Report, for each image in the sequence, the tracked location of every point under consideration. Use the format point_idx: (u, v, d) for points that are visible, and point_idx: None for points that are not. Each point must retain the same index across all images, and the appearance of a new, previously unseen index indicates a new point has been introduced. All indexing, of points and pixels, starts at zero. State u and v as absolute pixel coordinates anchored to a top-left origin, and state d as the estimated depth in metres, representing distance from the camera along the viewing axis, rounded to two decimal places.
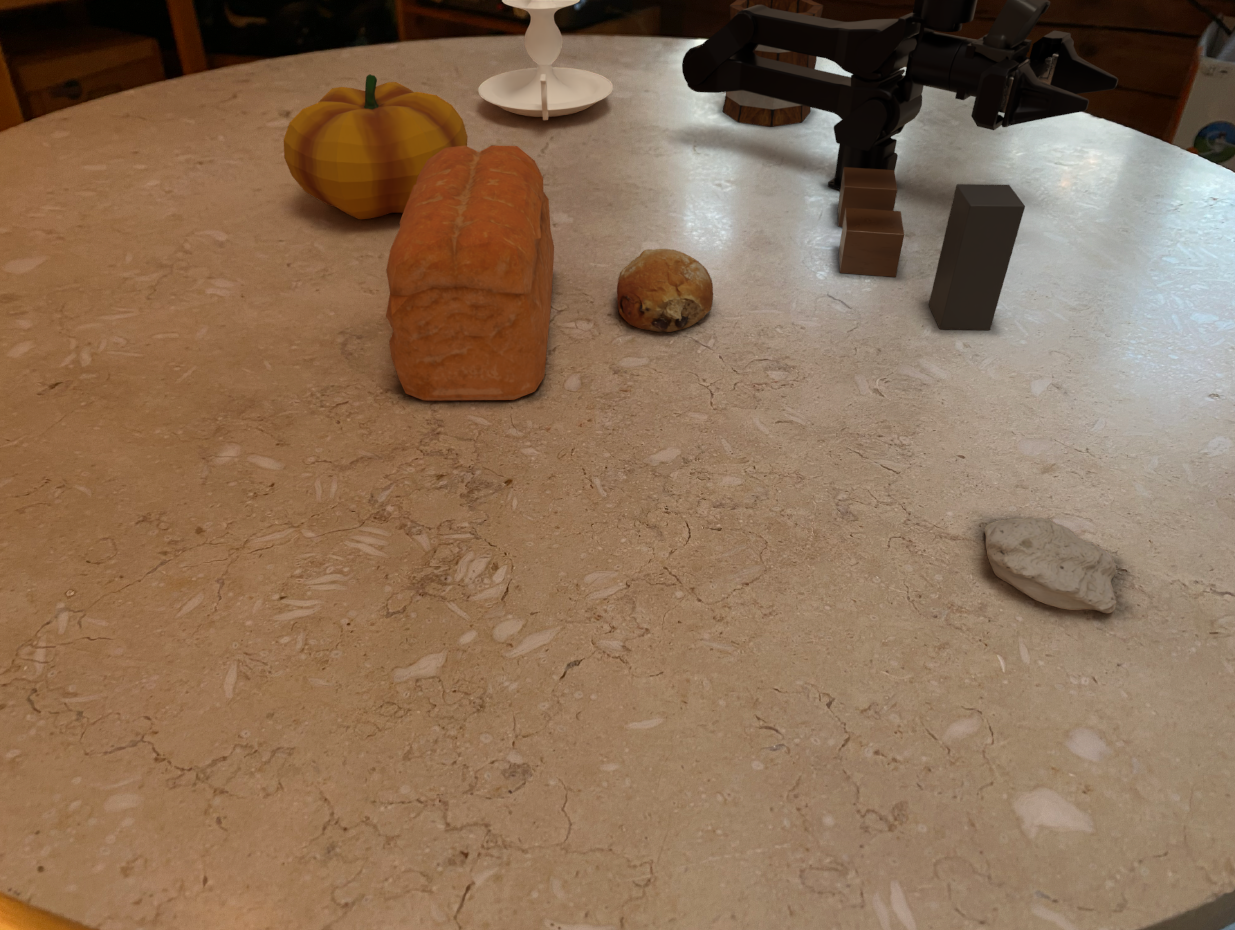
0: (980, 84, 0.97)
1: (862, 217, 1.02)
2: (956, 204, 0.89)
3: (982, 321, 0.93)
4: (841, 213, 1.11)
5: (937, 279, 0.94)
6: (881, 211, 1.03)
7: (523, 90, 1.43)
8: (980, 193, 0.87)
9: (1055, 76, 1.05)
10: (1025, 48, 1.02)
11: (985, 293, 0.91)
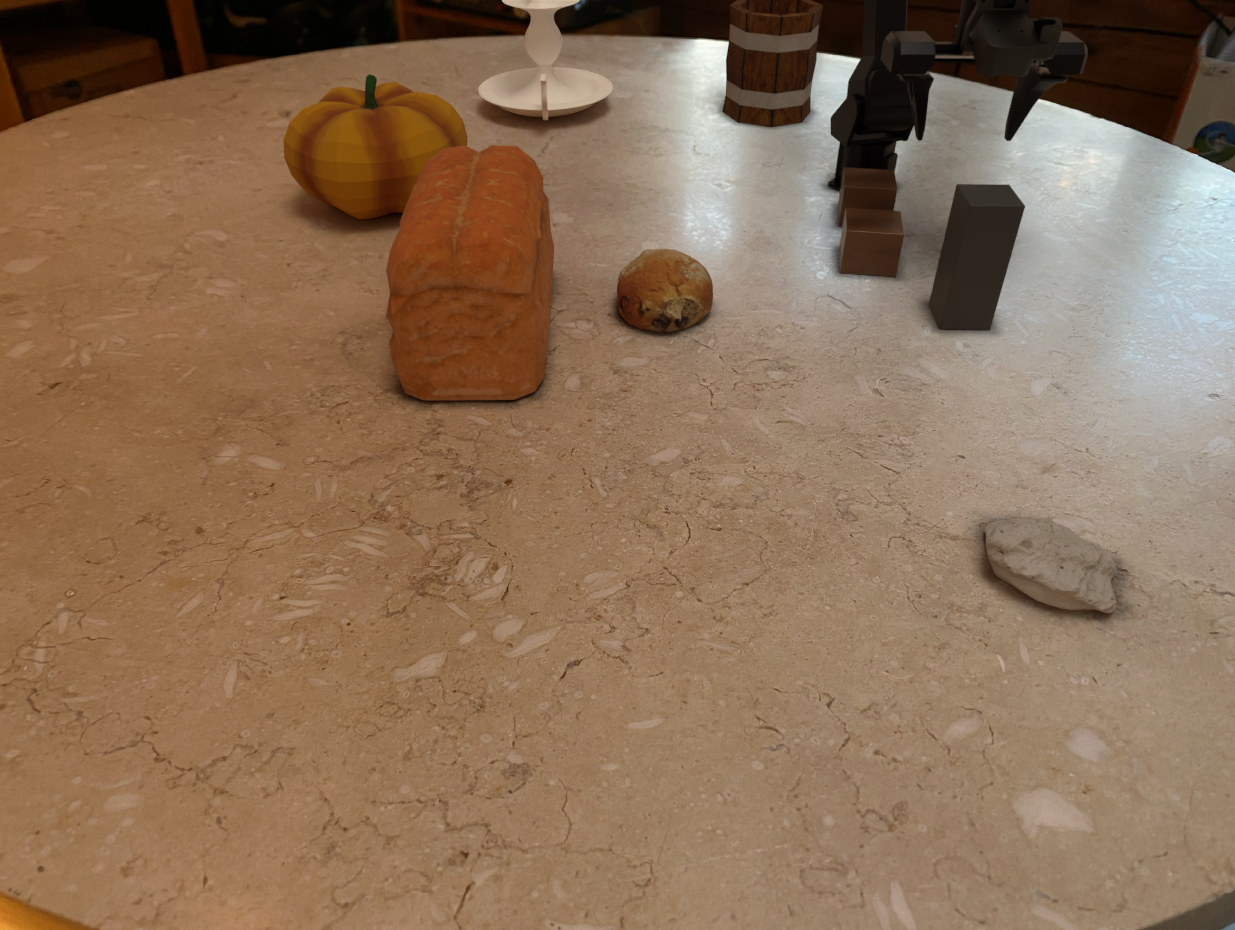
0: (895, 42, 0.92)
1: (862, 217, 1.02)
2: (956, 204, 0.89)
3: (982, 321, 0.93)
4: (841, 213, 1.11)
5: (937, 279, 0.94)
6: (881, 211, 1.03)
7: (523, 90, 1.43)
8: (980, 193, 0.87)
9: None
10: None
11: (985, 293, 0.91)
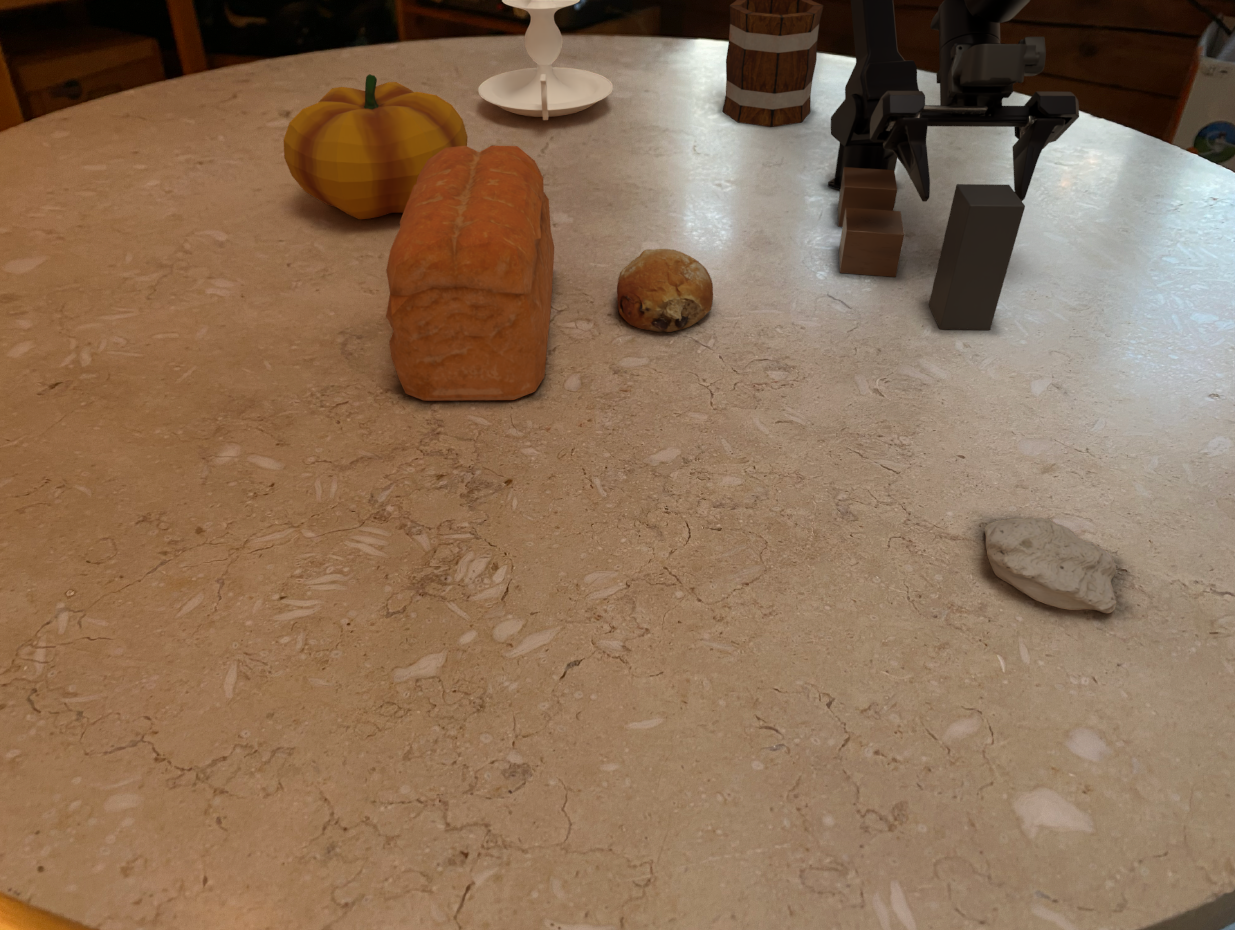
0: None
1: (862, 217, 1.02)
2: (956, 204, 0.89)
3: (982, 321, 0.93)
4: (841, 213, 1.11)
5: (937, 279, 0.94)
6: (881, 211, 1.03)
7: (523, 90, 1.43)
8: (980, 193, 0.87)
9: (1021, 139, 0.93)
10: (995, 95, 0.90)
11: (985, 293, 0.91)
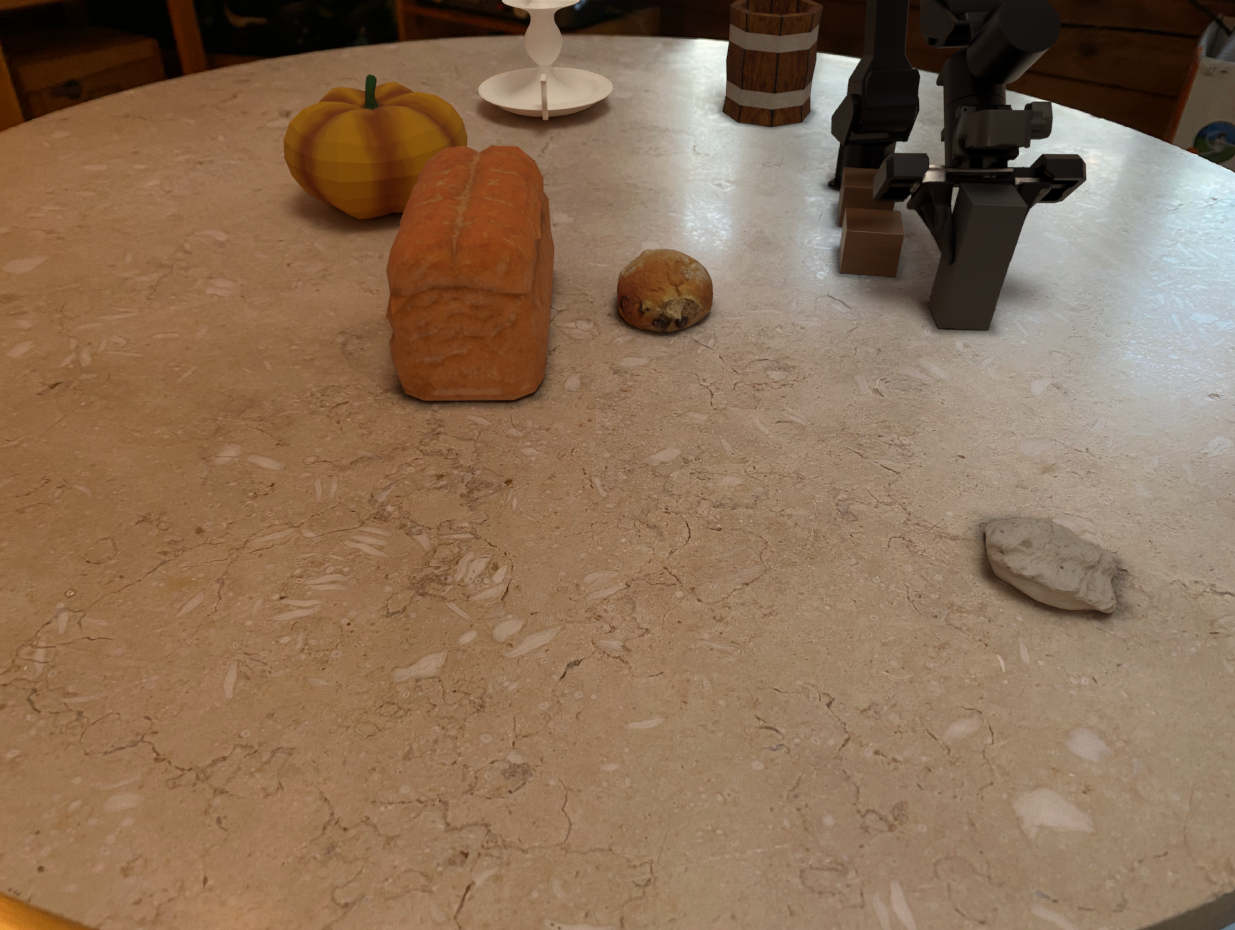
0: None
1: (862, 217, 1.02)
2: (959, 202, 0.89)
3: (981, 321, 0.93)
4: (841, 213, 1.11)
5: (937, 278, 0.94)
6: (881, 211, 1.03)
7: (523, 90, 1.43)
8: (983, 192, 0.87)
9: None
10: (1001, 157, 0.88)
11: (985, 293, 0.91)
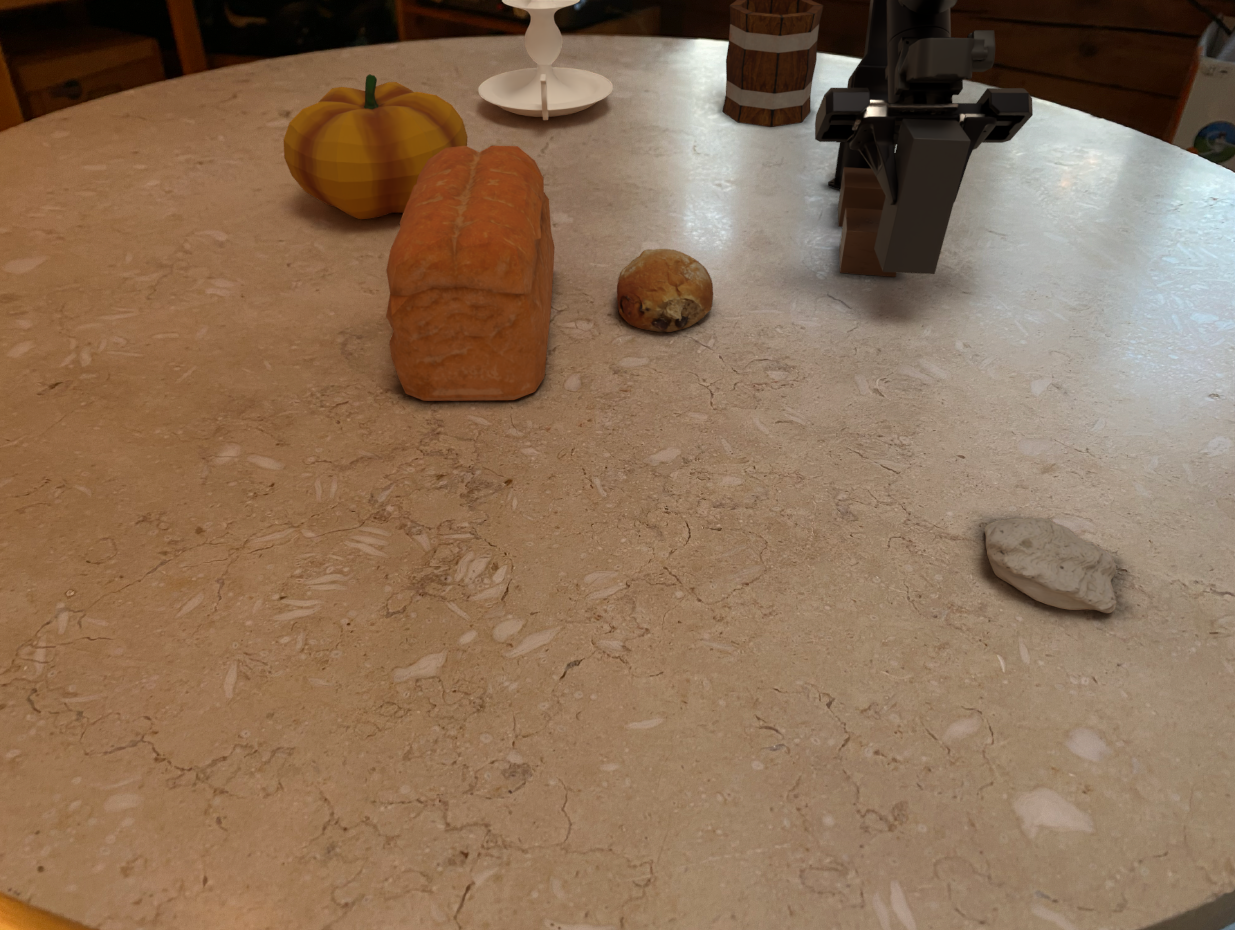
0: None
1: (862, 217, 1.02)
2: (901, 139, 0.86)
3: (926, 265, 0.90)
4: (841, 213, 1.11)
5: (882, 221, 0.91)
6: (881, 211, 1.03)
7: (523, 90, 1.43)
8: (926, 127, 0.84)
9: None
10: (944, 92, 0.85)
11: (929, 234, 0.88)
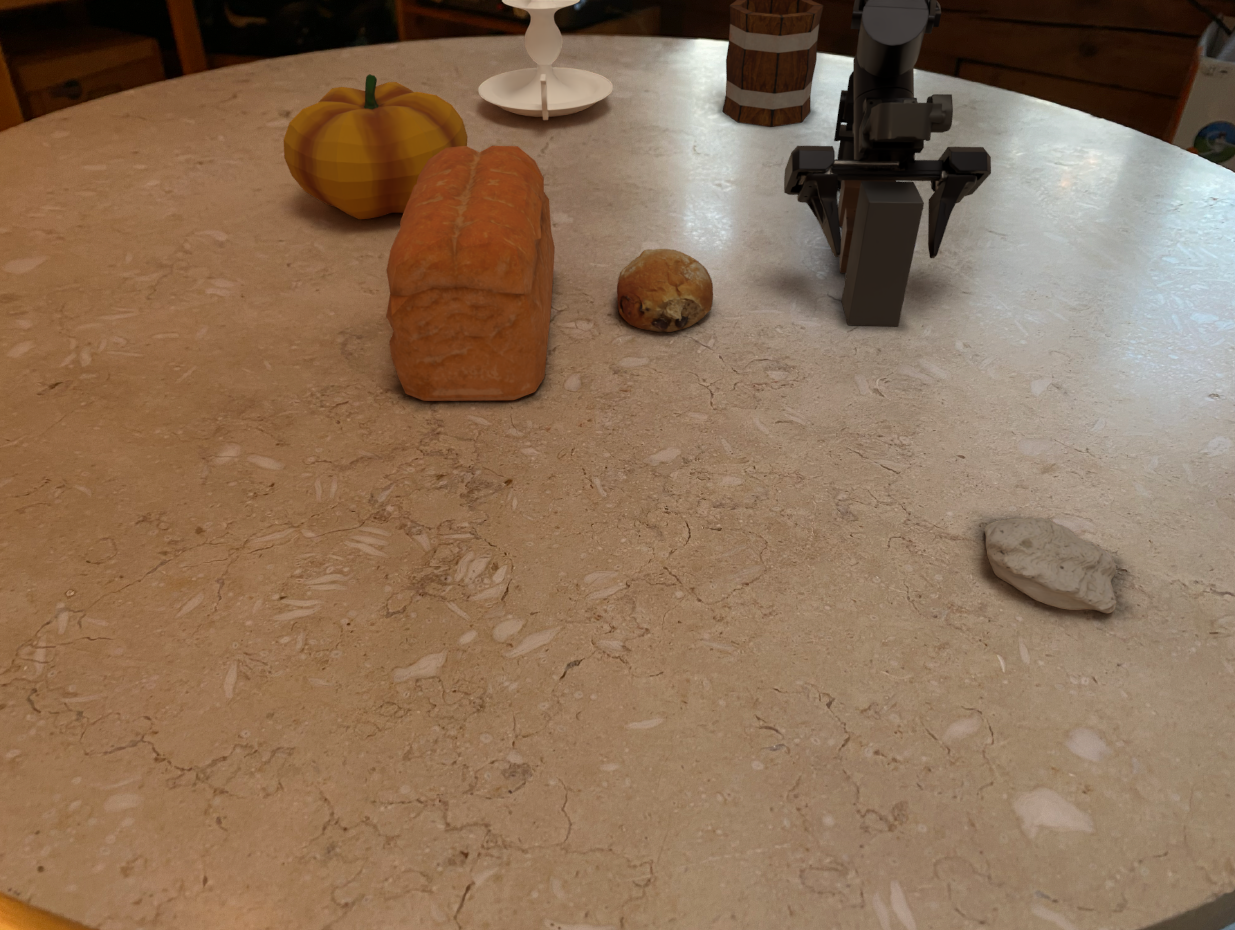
0: None
1: None
2: (860, 201, 0.90)
3: (889, 317, 0.93)
4: (841, 213, 1.11)
5: (847, 276, 0.95)
6: None
7: (523, 90, 1.43)
8: (882, 189, 0.88)
9: (935, 193, 0.92)
10: (906, 150, 0.89)
11: (891, 289, 0.91)
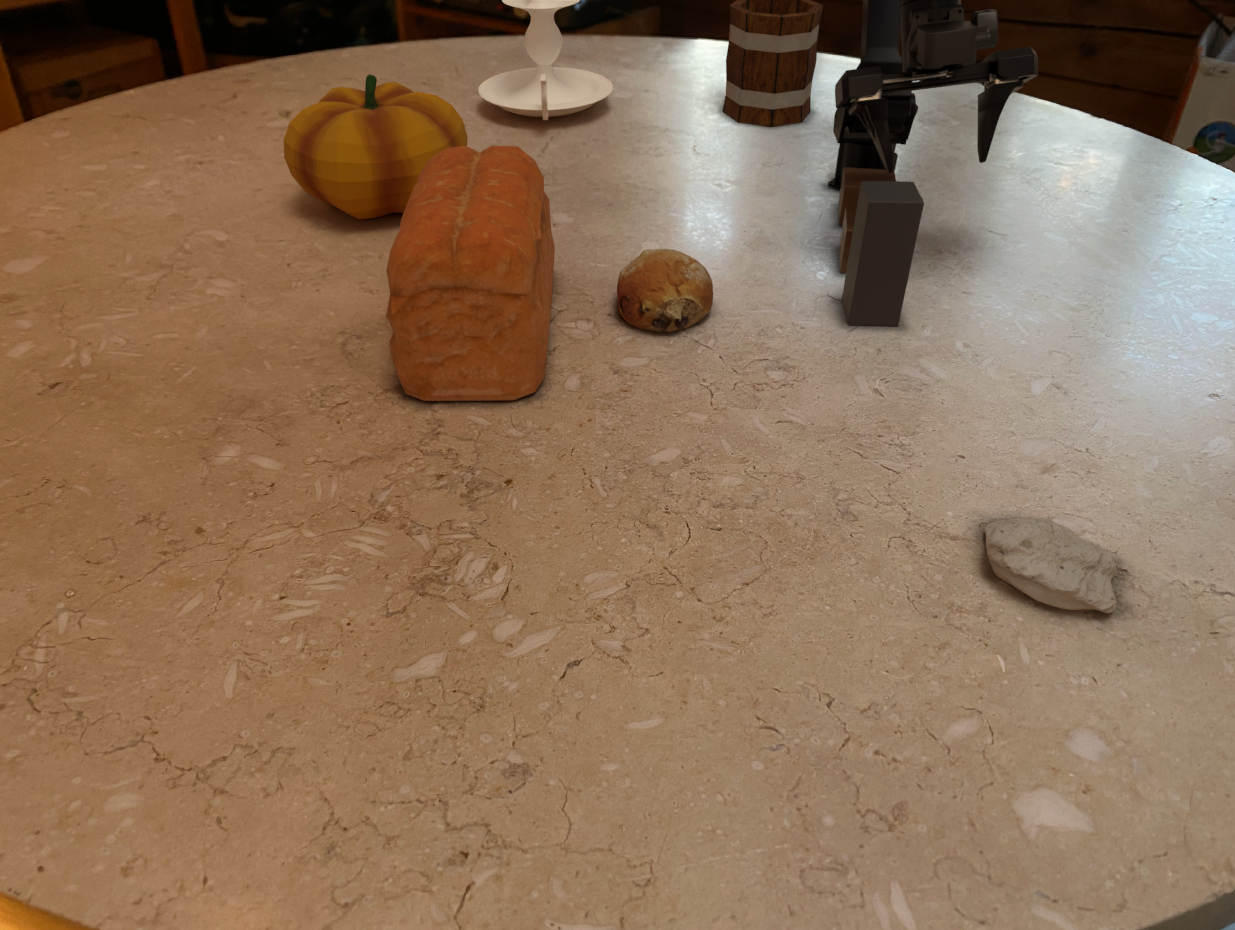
0: None
1: None
2: (860, 200, 0.90)
3: (889, 317, 0.93)
4: (841, 213, 1.11)
5: (847, 276, 0.95)
6: None
7: (523, 90, 1.43)
8: (882, 189, 0.88)
9: (984, 94, 0.95)
10: None
11: (891, 289, 0.91)
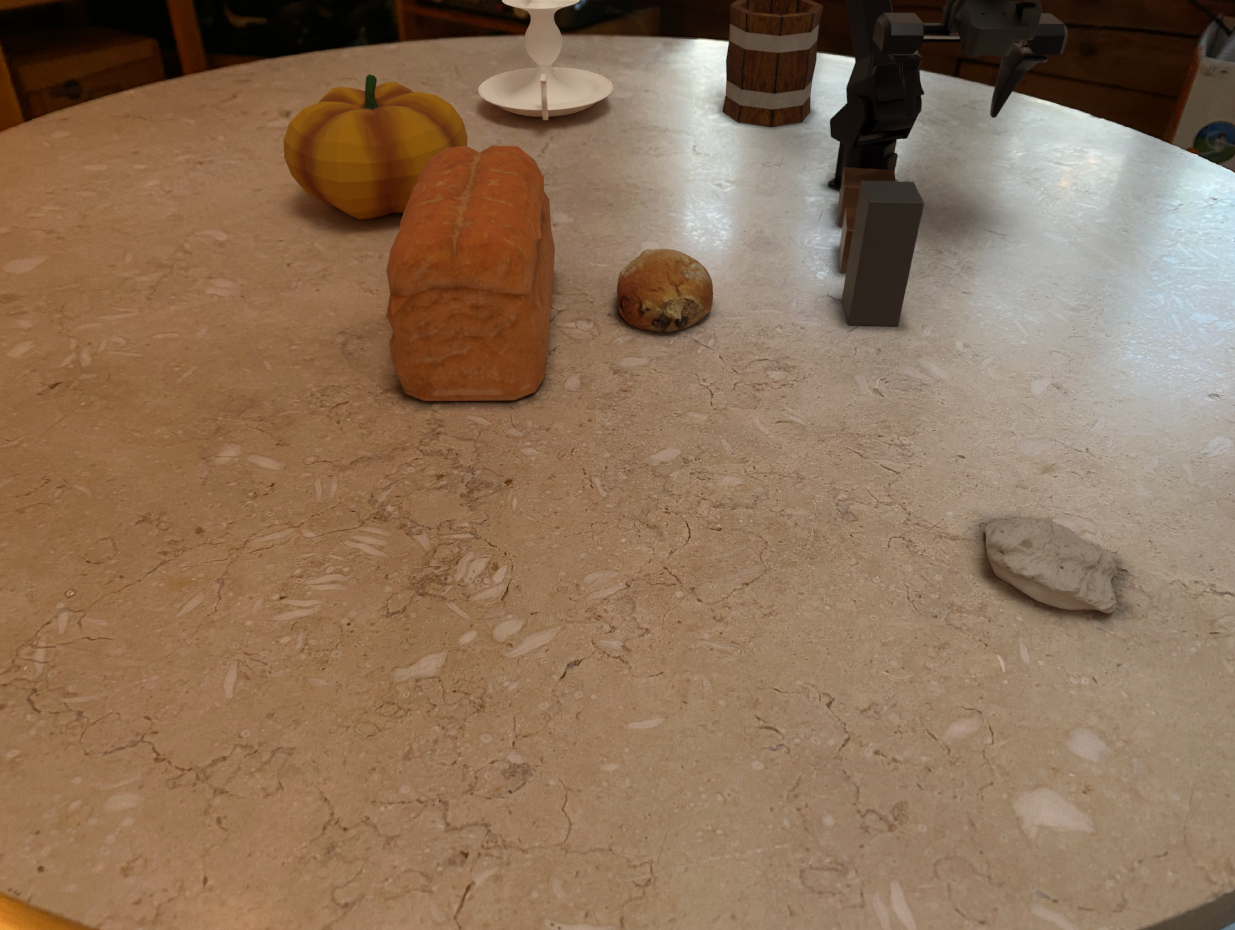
0: (886, 23, 0.97)
1: None
2: (860, 200, 0.90)
3: (889, 317, 0.93)
4: (841, 213, 1.11)
5: (847, 276, 0.95)
6: None
7: (523, 90, 1.43)
8: (882, 189, 0.88)
9: (1011, 51, 1.00)
10: None
11: (891, 289, 0.91)
